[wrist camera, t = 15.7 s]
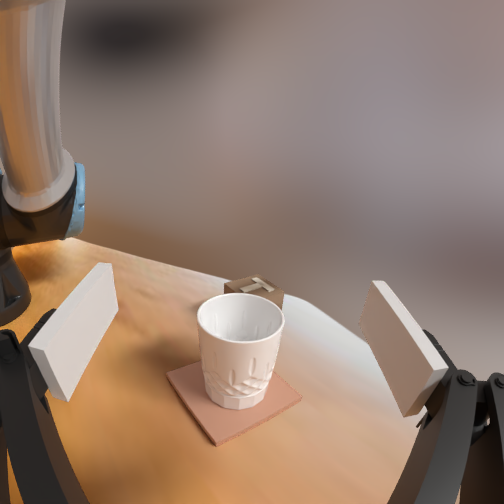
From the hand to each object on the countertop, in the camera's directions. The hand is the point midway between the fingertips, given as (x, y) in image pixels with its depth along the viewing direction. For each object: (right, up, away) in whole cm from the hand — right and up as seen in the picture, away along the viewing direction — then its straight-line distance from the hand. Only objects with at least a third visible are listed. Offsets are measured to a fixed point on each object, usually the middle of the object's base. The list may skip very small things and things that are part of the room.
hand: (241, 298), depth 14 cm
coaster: (-2, -13, +16) cm, 21 cm away
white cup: (-1, -13, +16) cm, 20 cm away
